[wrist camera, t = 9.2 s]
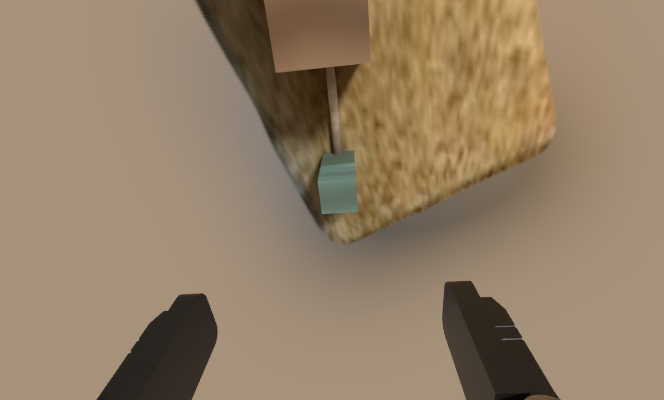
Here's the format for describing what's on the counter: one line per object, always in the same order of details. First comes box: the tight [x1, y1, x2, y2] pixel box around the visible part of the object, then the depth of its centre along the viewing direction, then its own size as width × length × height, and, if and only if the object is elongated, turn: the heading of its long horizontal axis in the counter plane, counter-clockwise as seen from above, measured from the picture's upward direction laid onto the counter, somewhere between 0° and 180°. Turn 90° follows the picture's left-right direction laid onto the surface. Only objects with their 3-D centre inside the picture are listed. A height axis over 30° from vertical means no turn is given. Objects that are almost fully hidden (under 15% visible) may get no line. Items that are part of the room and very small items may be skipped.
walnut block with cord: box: [264, 0, 371, 214], centre depth 21 cm, size 15×5×8 cm, turn 6°
